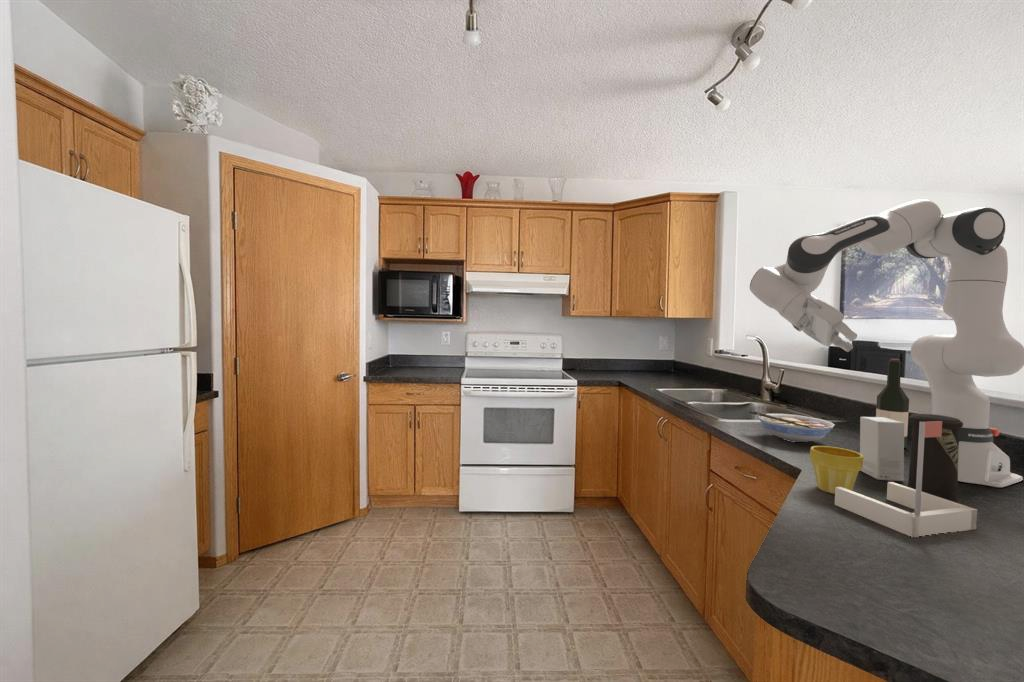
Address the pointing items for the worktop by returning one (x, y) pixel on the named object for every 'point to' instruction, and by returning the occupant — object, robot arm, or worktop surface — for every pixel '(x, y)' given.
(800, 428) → the ramen bowl
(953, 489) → the container
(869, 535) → the worktop surface
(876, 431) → the skincare box
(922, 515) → the white frame with flag
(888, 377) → the wine bottle
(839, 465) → the plant pot
